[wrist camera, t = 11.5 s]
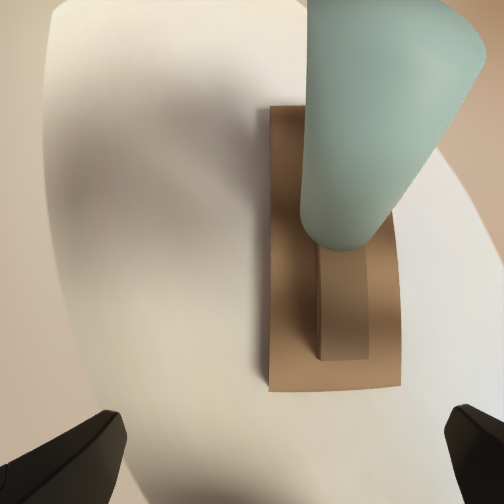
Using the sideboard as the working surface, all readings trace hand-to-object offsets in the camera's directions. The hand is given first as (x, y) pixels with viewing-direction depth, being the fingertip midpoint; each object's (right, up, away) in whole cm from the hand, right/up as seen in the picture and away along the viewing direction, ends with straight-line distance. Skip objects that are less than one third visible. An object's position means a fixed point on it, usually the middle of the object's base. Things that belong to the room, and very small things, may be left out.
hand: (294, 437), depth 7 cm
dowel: (+4, +7, +10) cm, 13 cm away
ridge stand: (+4, +6, +14) cm, 16 cm away
